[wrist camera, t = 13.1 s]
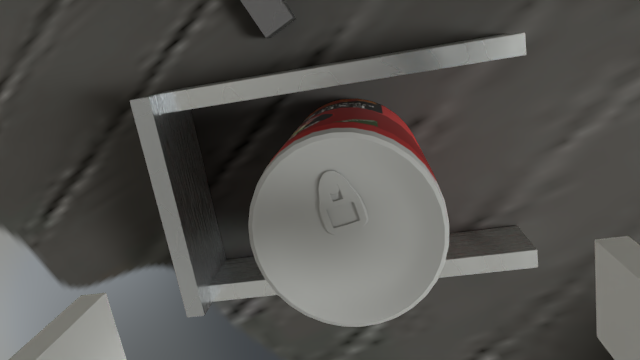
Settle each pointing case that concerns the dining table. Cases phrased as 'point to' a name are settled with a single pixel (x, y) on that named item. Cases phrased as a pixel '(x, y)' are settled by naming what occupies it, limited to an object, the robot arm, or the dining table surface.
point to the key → (269, 15)
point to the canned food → (350, 217)
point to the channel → (175, 105)
